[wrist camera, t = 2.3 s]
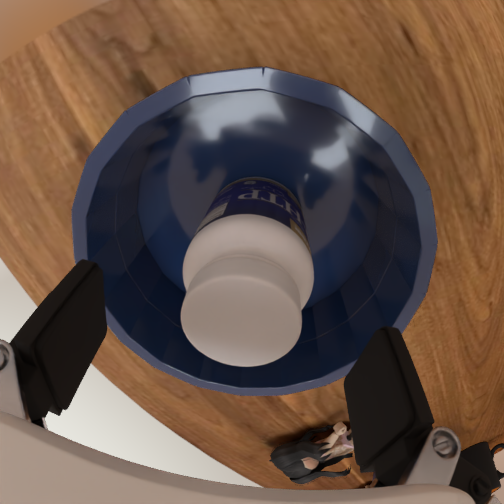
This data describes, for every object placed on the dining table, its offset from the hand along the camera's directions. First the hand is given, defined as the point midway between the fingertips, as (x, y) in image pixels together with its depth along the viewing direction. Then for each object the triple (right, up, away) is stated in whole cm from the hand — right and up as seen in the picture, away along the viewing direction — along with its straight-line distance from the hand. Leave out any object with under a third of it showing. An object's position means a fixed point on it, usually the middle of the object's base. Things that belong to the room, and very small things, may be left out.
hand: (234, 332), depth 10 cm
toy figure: (+10, -17, +19) cm, 27 cm away
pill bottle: (+1, +4, +8) cm, 9 cm away
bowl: (+1, +5, +8) cm, 9 cm away
